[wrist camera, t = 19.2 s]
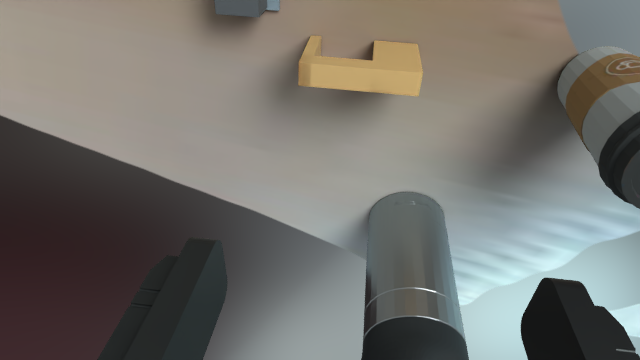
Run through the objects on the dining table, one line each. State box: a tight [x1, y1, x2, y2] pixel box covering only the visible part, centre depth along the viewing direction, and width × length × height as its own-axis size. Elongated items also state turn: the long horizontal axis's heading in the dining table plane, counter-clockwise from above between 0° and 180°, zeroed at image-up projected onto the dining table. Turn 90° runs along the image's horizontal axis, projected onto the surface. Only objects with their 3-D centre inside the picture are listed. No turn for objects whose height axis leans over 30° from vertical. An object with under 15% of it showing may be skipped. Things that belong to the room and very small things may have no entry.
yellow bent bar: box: [298, 36, 423, 96], centre depth 37 cm, size 2×10×7 cm, turn 88°
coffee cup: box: [557, 46, 640, 209], centre depth 32 cm, size 8×8×15 cm
